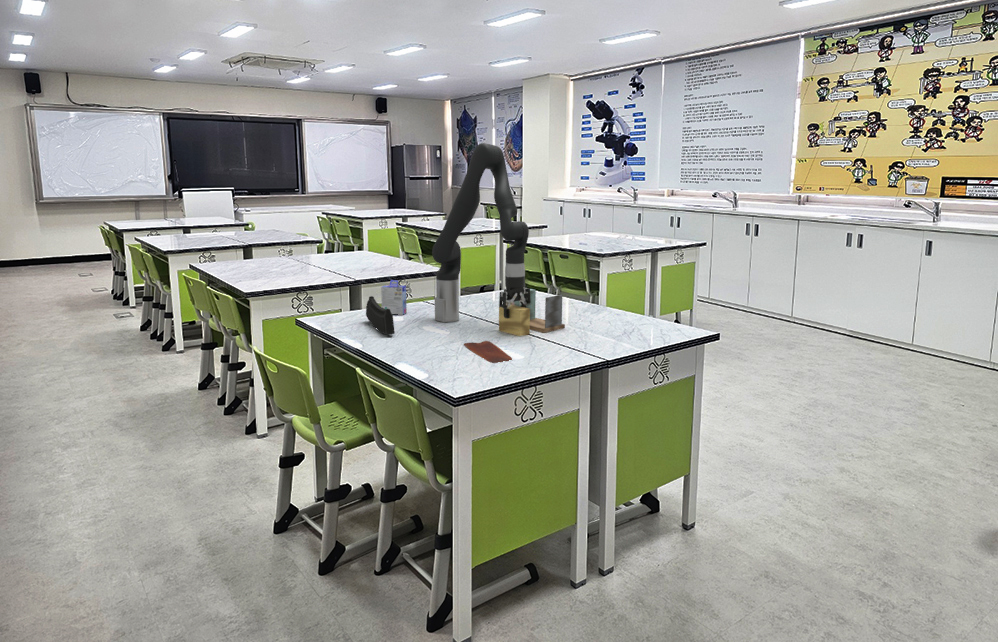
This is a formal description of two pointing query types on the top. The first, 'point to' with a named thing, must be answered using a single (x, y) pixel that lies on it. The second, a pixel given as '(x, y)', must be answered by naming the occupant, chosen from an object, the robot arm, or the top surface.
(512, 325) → the yellow block
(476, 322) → the top surface
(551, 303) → the book shelf
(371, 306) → the magazine
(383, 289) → the ink cartridge box
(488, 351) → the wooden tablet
